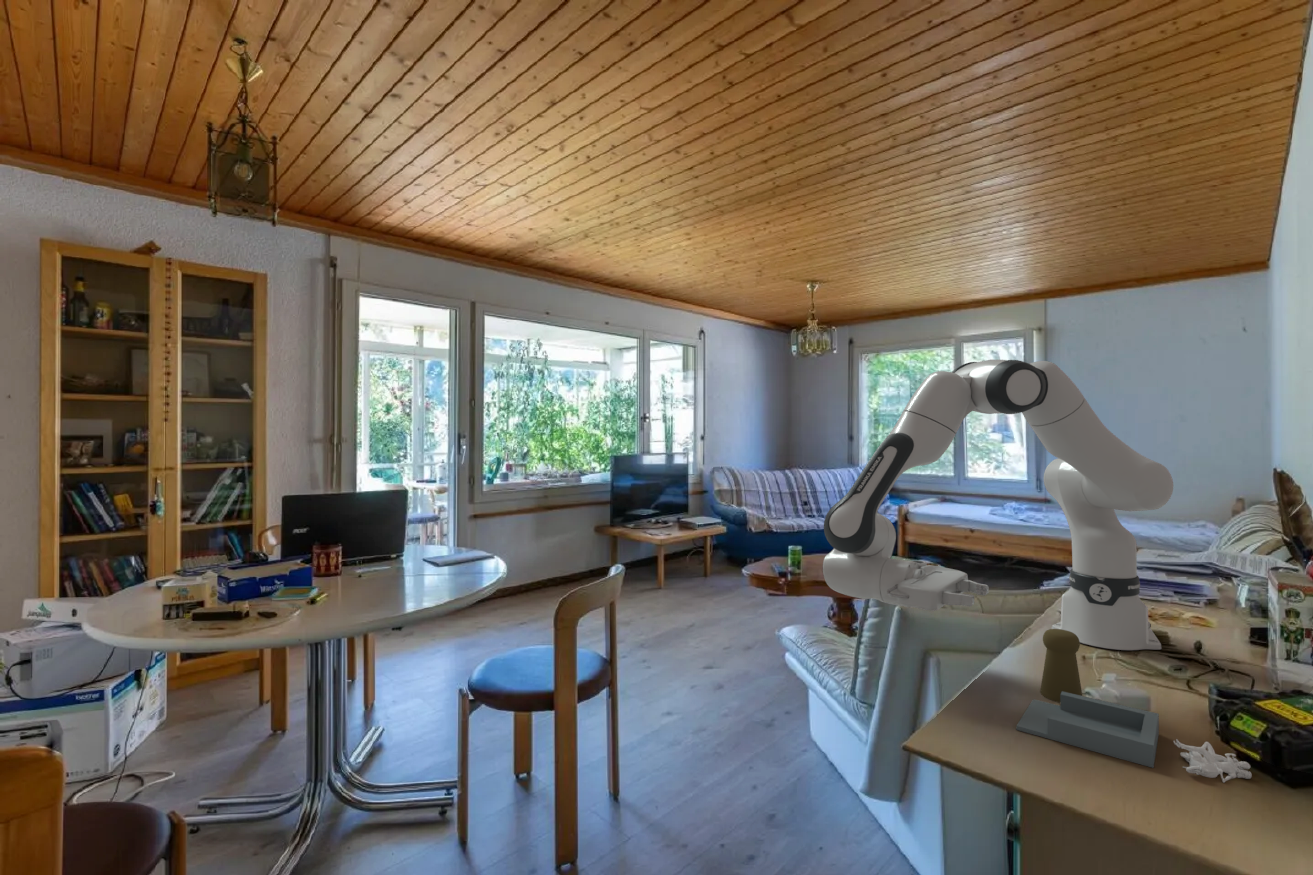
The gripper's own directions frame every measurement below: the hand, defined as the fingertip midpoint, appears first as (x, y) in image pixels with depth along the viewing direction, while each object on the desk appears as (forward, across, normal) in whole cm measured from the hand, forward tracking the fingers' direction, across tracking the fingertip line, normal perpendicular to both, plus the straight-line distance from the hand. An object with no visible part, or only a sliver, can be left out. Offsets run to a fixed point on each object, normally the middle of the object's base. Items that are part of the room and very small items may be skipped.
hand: (980, 595), depth 111 cm
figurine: (+31, -13, +15) cm, 37 cm away
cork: (+12, 0, +15) cm, 19 cm away
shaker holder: (+17, -12, +15) cm, 26 cm away
